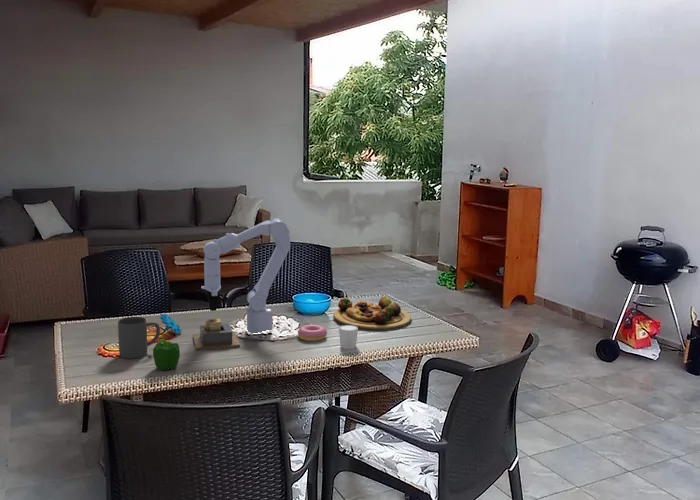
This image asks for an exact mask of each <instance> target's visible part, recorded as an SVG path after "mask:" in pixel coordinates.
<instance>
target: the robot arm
mask: <svg viewBox="0 0 700 500" xmlns="http://www.w3.org/2000/svg"><path fill="white" fill-rule="evenodd" d="M270 234H271V237H272V238H273V240H274V243H275V248H274V250H273V252H272V254H271V256H270V257H269V260H268V261H267V264H266V266H265V268H264V270H263V272H262V274H261V275H260V277H259V279H258V282H257V283H256V284H255V285H254V286H253V289H251V290H250V291H249V292H248V293H247V295H246V300H247V303H248V306H247V307H246V328H247V330H248V331H249V332H251V333H258V332H262V331H266V330H272V331H273V313H272V309H271V308H267V307H266V305H267V299H268V296H269V291H270V288H271V286H272V285H273V283H274V281H275V279H276V277H277V275H278V273H279V271H280V269H281V267H282V265H283V263H284V261H285V259H286V257H287V255H288V254H289V251H290V250H291V249H290V248H291V238H290V230H289V228H288V227H287V224H286V223H285V222H283V220H282V219H281V218H278V217H274V218H271V219H270V220H268V219H267V220H264V221H263V222H260V223H258V224H255V225H254V226H252V227H250V228H247V229H246V230H243V231H242V232H240V233H234V232H227V233H225V235H224V236H222V237H219V238H218V239H217V238H215V239H213V241H212V240H211V241H208V242H206V243H205V245H204V246H203V254H204V257H203V258H204V259H203V260H204V262H203V265H204V266H203V269H204V273H203V274H204V275H203V276H204V277H203V279H204V285H201V288H200V289H202V290H204V295H205V296H206V298H207V302H208V308H209V311H211V312H214V311H217V308H218V303H219V299H220V297H221V295H222V293H221V288H222V286H221V261H220V256H221V255H224V254H226V253H228V252H231V251H233V250H235V249H237V248H239V247H240V245H241V243H243V242H245V241H248V240H250V239H253V238H255V237H258V236H261V235H262V236H265V237H266V236H267V237H269V236H270ZM248 335H250V336H252V335H251V334H248ZM248 335H247V336H248Z"/></svg>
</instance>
